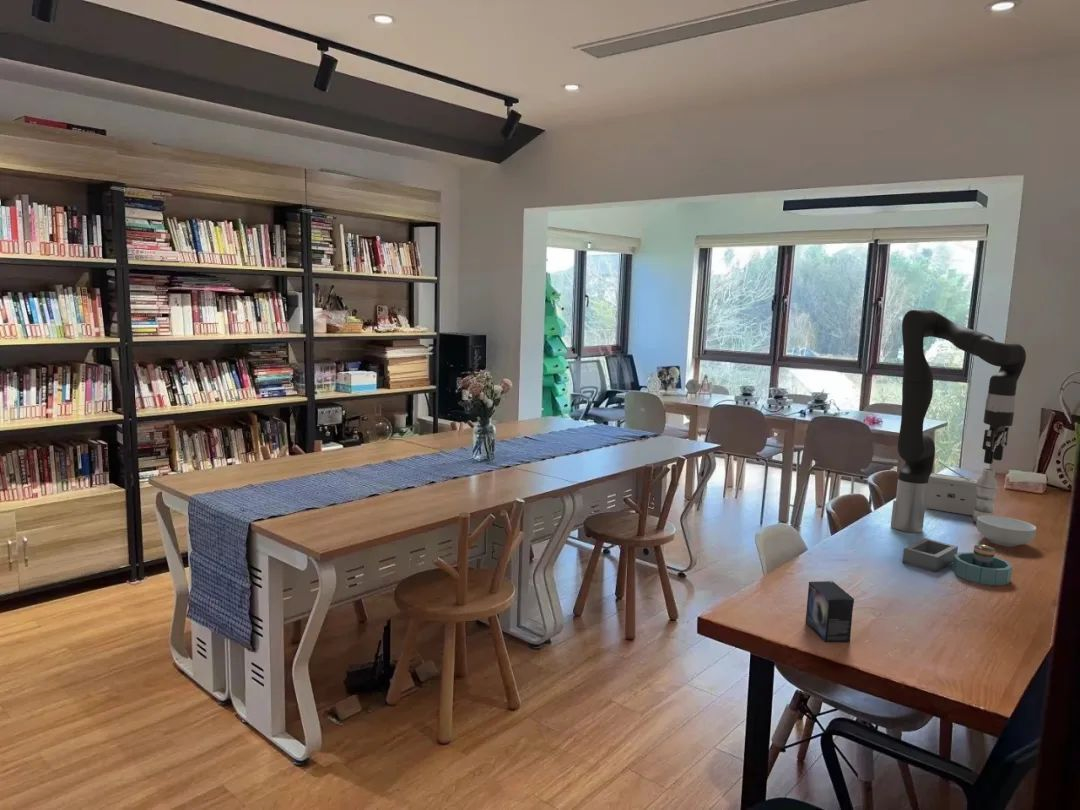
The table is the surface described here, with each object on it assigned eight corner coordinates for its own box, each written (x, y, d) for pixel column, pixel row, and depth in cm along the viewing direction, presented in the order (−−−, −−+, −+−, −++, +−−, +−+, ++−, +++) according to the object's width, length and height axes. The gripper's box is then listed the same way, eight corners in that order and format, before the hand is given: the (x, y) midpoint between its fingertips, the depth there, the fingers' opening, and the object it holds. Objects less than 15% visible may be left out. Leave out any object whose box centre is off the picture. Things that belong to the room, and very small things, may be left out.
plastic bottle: (996, 527, 261) (1003, 472, 258) (975, 525, 262) (982, 470, 260) (989, 522, 267) (996, 468, 265) (968, 520, 269) (975, 466, 266)
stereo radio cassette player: (984, 514, 278) (991, 462, 275) (983, 519, 272) (990, 466, 269) (922, 504, 289) (928, 454, 287) (920, 508, 283) (926, 457, 280)
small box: (803, 622, 177) (807, 580, 175) (829, 622, 177) (833, 580, 176) (823, 642, 166) (827, 598, 165) (851, 642, 167) (855, 598, 165)
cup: (945, 573, 213) (947, 558, 212) (963, 563, 222) (964, 549, 222) (1000, 589, 203) (1002, 573, 202) (1016, 577, 212) (1018, 562, 211)
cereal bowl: (1043, 553, 234) (1046, 532, 233) (985, 548, 238) (988, 527, 237) (1020, 537, 251) (1023, 517, 250) (966, 532, 254) (969, 512, 253)
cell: (968, 571, 212) (972, 545, 211) (974, 567, 216) (977, 541, 215) (988, 577, 209) (992, 550, 207) (994, 573, 212) (997, 546, 211)
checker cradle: (902, 562, 221) (903, 548, 220) (923, 551, 232) (925, 538, 231) (936, 572, 214) (937, 557, 213) (956, 560, 225) (958, 546, 224)
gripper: (993, 405, 230) (987, 456, 233) (977, 409, 221) (971, 462, 223) (1021, 409, 225) (1014, 461, 227) (1006, 412, 215) (998, 467, 218)
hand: (992, 461), depth 225 cm, fingers open, 8 cm apart
